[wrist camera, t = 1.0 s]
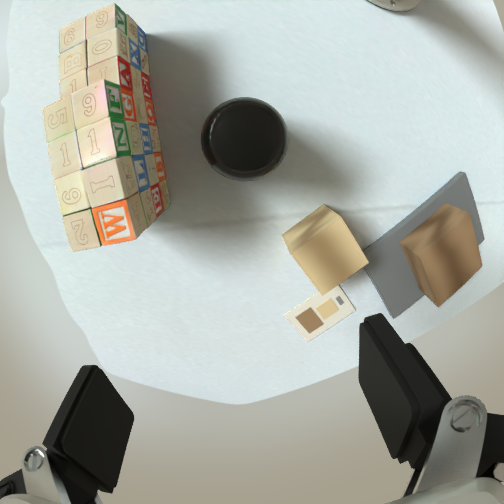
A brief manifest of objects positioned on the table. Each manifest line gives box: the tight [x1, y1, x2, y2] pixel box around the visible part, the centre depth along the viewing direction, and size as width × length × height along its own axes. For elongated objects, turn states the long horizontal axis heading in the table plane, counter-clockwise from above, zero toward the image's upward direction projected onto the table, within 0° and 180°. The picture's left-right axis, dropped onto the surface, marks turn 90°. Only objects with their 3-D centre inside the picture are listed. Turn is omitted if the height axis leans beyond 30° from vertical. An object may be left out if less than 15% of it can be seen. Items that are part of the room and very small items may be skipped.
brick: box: [399, 203, 482, 307], centre depth 30 cm, size 9×9×5 cm
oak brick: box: [282, 204, 369, 296], centre depth 30 cm, size 6×6×6 cm
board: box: [362, 172, 484, 319], centre depth 33 cm, size 20×12×1 cm, turn 127°
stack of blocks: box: [43, 3, 170, 252], centre depth 21 cm, size 21×6×12 cm, turn 8°
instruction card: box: [284, 285, 355, 342], centre depth 36 cm, size 8×6×1 cm
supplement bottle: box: [201, 97, 288, 181], centre depth 23 cm, size 7×7×12 cm
